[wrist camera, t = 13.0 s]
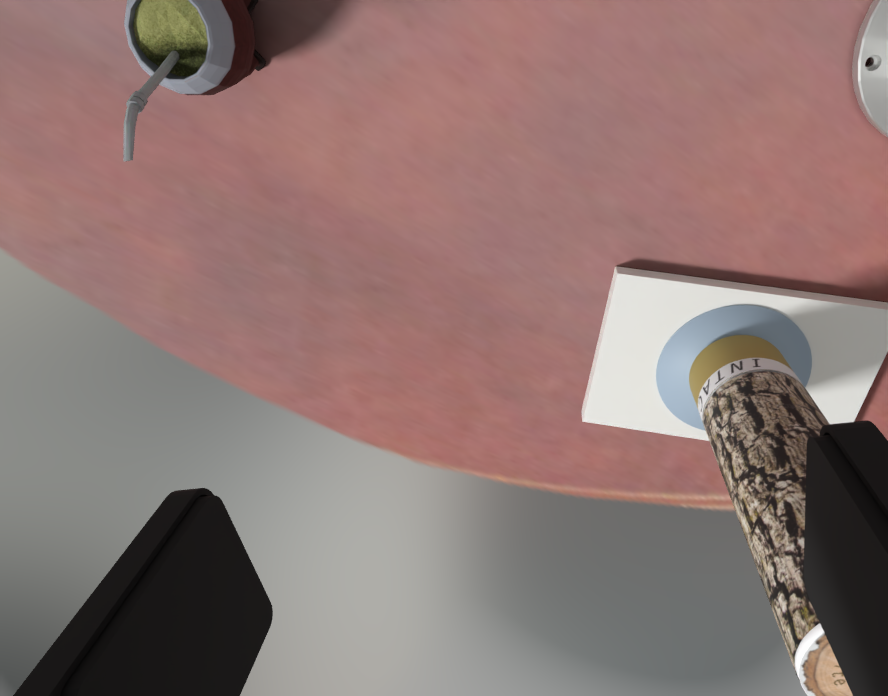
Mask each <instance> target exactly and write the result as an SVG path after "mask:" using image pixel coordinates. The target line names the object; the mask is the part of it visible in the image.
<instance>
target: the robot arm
mask: <svg viewBox="0 0 888 696" xmlns="http://www.w3.org/2000/svg"><path fill="white" fill-rule="evenodd" d="M868 58H870V59H871V62H870V64H869V65H868V66H865V63H866V60H867V59H868ZM852 76H853V86H854V91H855V94H856V97H857V100H858V103H859V106H860V108H861V110H862V111H863V113H864V115H865V116H866V118H867V119H868V121H869V122H870V123H871V124H872V125H873V126H874V127H875V128H876V129H877V130H878V131H879V132H880V133H881V134H883V135H884V136H886V137H888V0H874V1H873V2H872V4H871V5H870V7H869V10H868V12H867V14H866V16H865V18H864V20H863V22H862V24H861V27H860V30H859V33H858V37H857V40H856V44H855V47H854V54H853V64H852ZM804 582H805V587H806V591H807V594H808V597H809V600H810V602H811V605H812V607H813V609H814V611H815V613H816V616H817V618H818V620H819V622H820V624H821V627H822V629H823V631H824V633H825V635H826V637H827V640H828V642H829V644H830V646H831V648H832V651H833V653H834V655H835V657H836V659H837V662H838V664H839V666H840V668H841V670H842V673H843V675H844V677H845V679H846V681H847V684H848V686H849V688H850V690H851V692H852V695H853V696H888V441H887V439H886V438H885V437H884V436H883V434H882V433H881V432H880V431H879V430H878V428H877V427H876V426H875V425H874V424H873V423H872V422H870V421H858V422H848V423H838V424H828V425H824V426H822V428H821V430H820V436H813V437H809V438H808V440H807V453H806V494H805V535H804ZM272 612H273V611H272V605H271V602H270V600H269V598H268V596H267V594H266V592H265V590H264V588H263V585H262V583H261V581H260V579H259V577H258V575H257V573H256V571H255V569H254V567H253V565H252V562H251V560H250V559H249V556H248V554H247V552H246V550H245V548H244V546H243V544H242V541H241V539H240V537H239V535H238V533H237V531H236V529H235V527H234V525H233V523H232V521H231V519H230V517H229V515H228V512H227V510H226V508H225V506H224V504H223V502H222V500H221V499H220V498H219V497H217V496H214V495H213V494H212V492H211V491H209V490H208V489H205V488H199V489H189V490H179V491H174V492H172V493H170V494H169V495H168V496H167V497H166V498H165V500H164V501H163V502H162V504H161V505H160V506H159V508H158V509H157V510H156V512H155V513H154V514H153V515H152V517H151V518H150V519H149V520H148V522H147V523H146V524H145V526H144V527H143V528H142V530H141V531H140V532H139V534H138V535H137V536H136V537H135V539H134V540H133V541H132V543H131V544H130V545H129V546H128V548H127V549H126V550H125V552H124V553H123V554H122V555H121V557H120V558H119V559H118V561H117V562H116V563H115V565H114V566H113V567H112V569H111V570H110V571H109V572H108V574H107V575H106V576H105V578H104V579H103V580H102V581H101V583H100V584H99V585H98V587H97V588H96V589H95V590H94V592H93V593H92V594H91V596H90V597H89V598H88V599H87V601H86V602H85V603H84V605H83V606H82V607H81V609H80V610H79V611H78V613H77V614H76V615H75V616H74V618H73V619H72V620H71V621H70V623H69V624H68V625H67V627H66V628H65V629H64V631H63V632H62V633H61V634H60V636H59V637H58V638H57V640H56V641H55V642H54V643H53V645H52V646H51V647H50V649H49V650H48V651H47V653H46V654H45V655H44V656H43V658H42V659H41V660H40V662H39V663H38V664H37V666H36V667H35V668H34V669H33V671H32V672H31V673H30V675H29V676H28V677H27V678H26V680H25V681H24V682H23V684H22V685H21V686H20V688H19V689H18V690H17V692H16V693H15V694H14V695H13V696H240V694H241V692H242V689H243V687H244V684H245V683H246V680H247V678H248V675H249V673H250V671H251V669H252V667H253V664H254V662H255V660H256V658H257V655H258V653H259V651H260V649H261V646H262V644H263V642H264V639H265V637H266V635H267V633H268V630H269V628H270V625H271V622H272Z"/></svg>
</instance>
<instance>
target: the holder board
mask: <svg viewBox="0 0 888 696" xmlns="http://www.w3.org/2000/svg"><path fill="white" fill-rule="evenodd" d="M734 335H751V336H756V337H759V338H762V339H764V340H767V341H768V342H770V343H771V344H773V345H774V346H775V347H776V348H777V349H778V350H779V351H780V353H781V354H782V355H783V357H784V358H785V360H786V361H787V363H788V364H789V366H790V367H791V369H792V370H793V372H794V373H795V374H796V375H797V377H798V378H799V380H800V381H801V383H802V384H803V386H804V387H805V388H806V390H807V391H808V393H809V394H810V396H811V397H812V399H813V400H814V402H815V403H816V405H817V406H818V408H819V409H820V410H821V412H822V413H823V415H824V416H825V418H826V419H827V421H828V422H829V424H838V423H848V422H854V420H855V418H856V416H857V414H858V412H859V410H860V408H861V406H862V404H863V402H864V400H865V398H866V396H867V393H868V391H869V389H870V387H871V385H872V383H873V381H874V379H875V377H876V375H877V373H878V371H879V369H880V367H881V364H882V362H883V360H884V358H885V356H886V354H887V352H888V303H887V302H880V301H872V300H865V299H857V298H850V297H842V296H835V295H827V294H820V293H812V292H805V291H797V290H790V289H782V288H775V287H768V286H760V285H753V284H745V283H738V282H730V281H723V280H715V279H708V278H700V277H693V276H685V275H678V274H670V273H663V272H655V271H648V270H640V269H633V268H625V267H618V266H615V270H614V275H613V279H612V283H611V287H610V292H609V296H608V300H607V305H606V309H605V313H604V317H603V322H602V326H601V330H600V335H599V339H598V343H597V347H596V352H595V356H594V360H593V365H592V369H591V373H590V377H589V382H588V386H587V390H586V395H585V399H584V403H583V407H582V421H583V422H589V423H596V424H602V425H609V426H616V427H622V428H629V429H635V430H642V431H648V432H655V433H661V434H668V435H674V436H681V437H688V438H694V439H701V440H707V441H709V439H708V436H707V433H706V430H705V428H704V425H703V422H702V420H701V417H700V414H699V411H698V408H697V405H696V403H695V400H694V397H693V395H692V392H691V389H690V385H689V373H690V369H691V366H692V364H693V362H694V360H695V358H696V357H697V356H698V354H699V353H700V352H701V351H702V350H703V349H704V348H706V347H707V346H708V345H710V344H711V343H713V342H715V341H717V340H719V339H722V338H725V337H729V336H734Z"/></svg>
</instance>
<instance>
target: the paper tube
mask: <svg viewBox="0 0 888 696" xmlns="http://www.w3.org/2000/svg"><path fill="white" fill-rule="evenodd" d="M689 385H690V389H691V392H692V395H693V397H694V400H695V403H696V405H697V408H698V411H699V414H700V417H701V420H702V422H703V425H704V428H705V430H706V433H707V436H708V439H709V441H710V444H711V447H712V449H713V452H714V455H715V457H716V460H717V463H718V465H719V468H720V471H721V473H722V476H723V479H724V481H725V484H726V487H727V489H728V492H729V495H730V497H731V500H732V503H733V506H734V508H735V511H736V514H737V516H738V519H739V522H740V524H741V527H742V529H743V532H744V535H745V538H746V540H747V543H748V546H749V548H750V551H751V554H752V556H753V559H754V562H755V564H756V567H757V570H758V572H759V575H760V578H761V581H762V583H763V586H764V588H765V591H766V594H767V597H768V599H769V602H770V605H771V607H772V610H773V613H774V615H775V618H776V621H777V623H778V626H779V629H780V631H781V634H782V637H783V639H784V642H785V645H786V648H787V650H788V653H789V656H790V658H791V661H792V663H793V666H794V669H795V672H796V674H797V676H798V678H799V680H800V682H801V686H802V688H803V689H804V691H805V693H806V694H807V695H808V696H853V695H852V692H851V690H850V688H849V686H848V684H847V681H846V679H845V677H844V675H843V673H842V670H841V668H840V666H839V664H838V662H837V659H836V657H835V655H834V653H833V651H832V648H831V646H830V644H829V642H828V640H827V637H826V635H825V633H824V631H823V629H822V627H821V624H820V622H819V620H818V618H817V616H816V613H815V611H814V609H813V607H812V605H811V602H810V600H809V597H808V594H807V591H806V587H805V582H804V535H805V494H806V453H807V440H808V438H809V437H813V436H820V430H821V428H822V426H824V425H828V424H829V422H828V421H827V419H826V418H825V416H824V415H823V413H822V412H821V410H820V409H819V408H818V406H817V405H816V403H815V402H814V400H813V399H812V397H811V396H810V394H809V393H808V391H807V390H806V388H805V387H804V386H803V384H802V383H801V381H800V380H799V378H798V377H797V375H796V374H795V373H794V372H793V370H792V369H791V367H790V366H789V364H788V363H787V361H786V360H785V358H784V357H783V355H782V354H781V353H780V351H779V350H778V349H777V348H776V347H775V346H774V345H773V344H771V343H770V342H768V341H767V340H764V339H762V338H759V337H756V336H751V335H734V336H729V337H725V338H722V339H719V340H717V341H715V342H713V343H711V344H710V345H708V346H707V347H706V348H704V349H703V350H702V351H701V352H700V353H699V354H698V356H697V357H696V358H695V360H694V362H693V364H692V366H691V369H690V373H689Z"/></svg>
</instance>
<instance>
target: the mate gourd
mask: <svg viewBox="0 0 888 696" xmlns="http://www.w3.org/2000/svg"><path fill="white" fill-rule="evenodd" d="M257 2H258V0H128V1H127V7H126V14H125V21H124V25H125V30H126V34H127V39H128V44H129V47H130V49H131V50H132V52H133V54H134V55H135V57H136V59H137V61H138V62H139V64H140V66H141V67H142V69H143V70H145V71H146V72H147V73H148V74H149V75H150V76H151V77H150V78H149V80H148V81H147V82H146V83H145V84H144V85H143V86H142V88H141V89H140V90H139V91H135V92H134V93H133V94H132V95H131V97H130V98H129V99H128V101H127V103H126V105H127V110H126V115H125V121H124V161H130V160H133V150H134V137H135V126H136V121H137V116H138V113H140V112H141V111H142V110H143V109H144V106H145V105H146V104H147V102H148V101H147V98H148V97H149V96H150V95H151V94H152V92H153V91H154V90H155V89H156V88H157V86H158V85H162V86H164V87H166V88H168V89H171V90H173V91H175V92H177V93H180V94H186V95H214V94H216V93H218V92H220V91H223V90H225V89H227V88H229V87H231V86H233V85H235V84H237V83H238V82H240V81H241V80H242V79H243V78H245V77H247V76H248V75H250V74H251V73H252V72H253V71H254V69H256V70H257V71H259V70H261V69H262V68H263V67H264V65H265V64H266V61H265V60H264V59H263V58H262V57H261V56H260V55H259V54H258V52H257V51H256V50H255V49H254V48H255V34H254V26H253V21H252V19H251V17H250V12H251V11H252V9H253V8H254V7H255V5H256V3H257Z"/></svg>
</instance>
